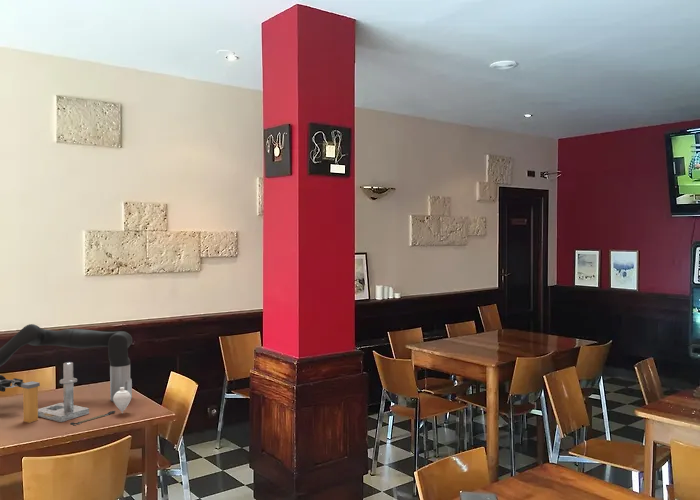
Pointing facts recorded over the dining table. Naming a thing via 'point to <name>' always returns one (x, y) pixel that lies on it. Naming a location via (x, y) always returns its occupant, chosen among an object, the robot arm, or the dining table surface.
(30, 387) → the yellow lidded box
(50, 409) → the grey peg stand
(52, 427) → the dining table surface
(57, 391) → the dining table surface
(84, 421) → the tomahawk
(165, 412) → the dining table surface
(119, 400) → the spinning top
